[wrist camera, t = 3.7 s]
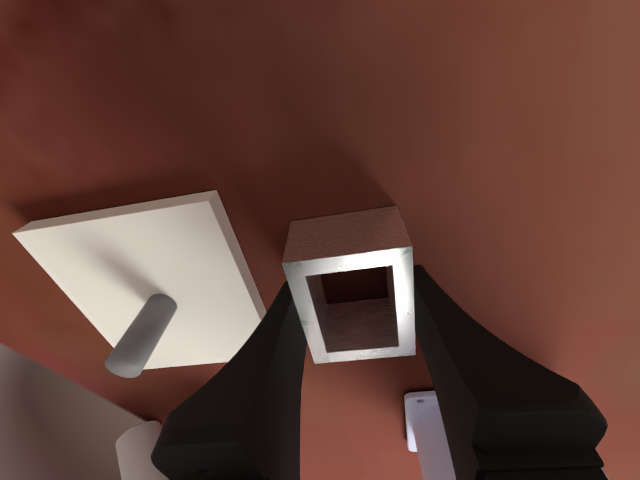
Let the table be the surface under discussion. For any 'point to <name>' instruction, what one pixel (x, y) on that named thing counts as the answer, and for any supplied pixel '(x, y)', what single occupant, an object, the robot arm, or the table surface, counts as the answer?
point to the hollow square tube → (343, 255)
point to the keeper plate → (153, 279)
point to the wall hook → (139, 452)
